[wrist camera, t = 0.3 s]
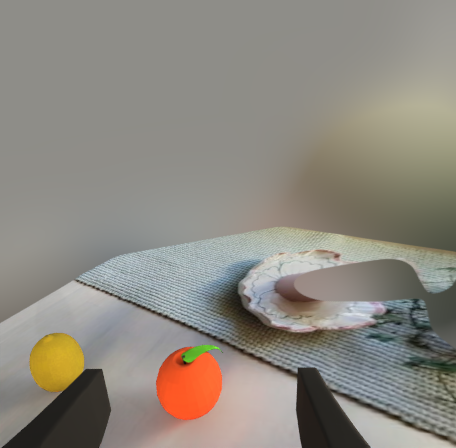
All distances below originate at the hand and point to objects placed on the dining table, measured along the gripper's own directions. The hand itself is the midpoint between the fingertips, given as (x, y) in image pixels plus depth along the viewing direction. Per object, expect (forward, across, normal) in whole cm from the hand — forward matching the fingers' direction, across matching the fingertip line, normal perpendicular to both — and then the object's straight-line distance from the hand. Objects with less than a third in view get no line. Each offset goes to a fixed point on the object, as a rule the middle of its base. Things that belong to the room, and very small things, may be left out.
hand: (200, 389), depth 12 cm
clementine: (+18, +4, +21) cm, 28 cm away
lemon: (+21, +20, +22) cm, 37 cm away
